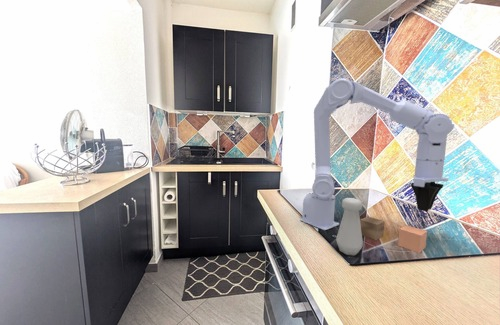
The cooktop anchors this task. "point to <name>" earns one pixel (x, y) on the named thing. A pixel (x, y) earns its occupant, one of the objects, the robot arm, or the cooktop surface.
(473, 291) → the cooktop surface
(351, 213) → the salt shaker
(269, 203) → the cooktop surface
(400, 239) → the terracotta block
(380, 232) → the walnut block
